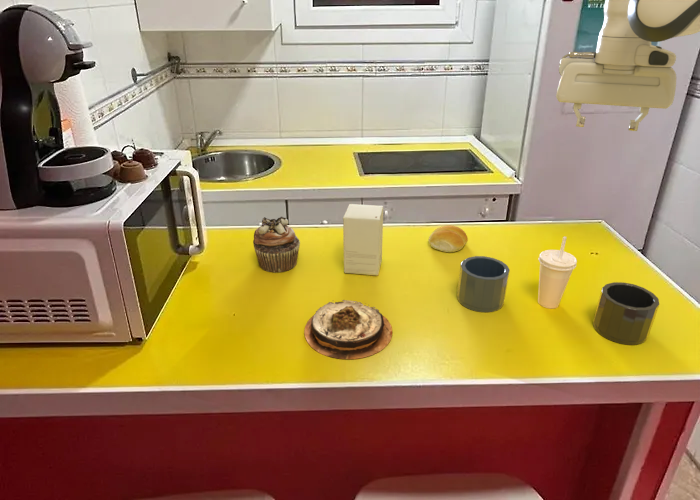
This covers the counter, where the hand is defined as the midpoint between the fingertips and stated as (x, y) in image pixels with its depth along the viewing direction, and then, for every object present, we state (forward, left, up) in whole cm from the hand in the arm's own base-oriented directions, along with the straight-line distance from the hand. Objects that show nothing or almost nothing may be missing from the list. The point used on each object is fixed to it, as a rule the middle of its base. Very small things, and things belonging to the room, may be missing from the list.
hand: (605, 128), depth 102 cm
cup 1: (+16, +27, -28) cm, 42 cm away
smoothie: (+4, +23, -28) cm, 37 cm away
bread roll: (+27, +7, -28) cm, 40 cm away
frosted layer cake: (+35, +46, -28) cm, 65 cm away
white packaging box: (+41, +24, -28) cm, 55 cm away
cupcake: (+58, +30, -28) cm, 71 cm away
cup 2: (-8, +27, -28) cm, 40 cm away
